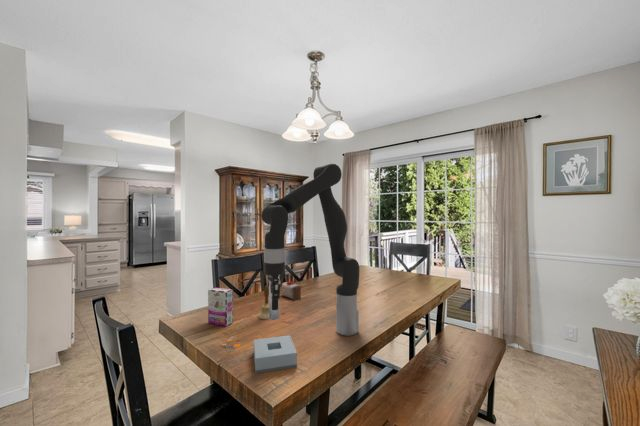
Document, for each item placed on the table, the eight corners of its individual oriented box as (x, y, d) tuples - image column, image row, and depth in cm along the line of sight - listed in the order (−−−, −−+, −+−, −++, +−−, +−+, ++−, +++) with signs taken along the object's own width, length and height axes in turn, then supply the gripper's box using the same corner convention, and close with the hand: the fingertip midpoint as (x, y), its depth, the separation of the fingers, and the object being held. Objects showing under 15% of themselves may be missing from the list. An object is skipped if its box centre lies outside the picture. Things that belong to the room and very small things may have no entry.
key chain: (244, 348, 110) (244, 346, 110) (225, 354, 106) (225, 351, 106) (233, 336, 120) (233, 334, 120) (216, 341, 116) (216, 339, 116)
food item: (279, 295, 177) (279, 280, 177) (289, 293, 183) (289, 278, 183) (292, 300, 168) (292, 284, 167) (302, 298, 173) (302, 282, 173)
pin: (278, 315, 103) (278, 283, 103) (279, 319, 100) (279, 285, 100) (268, 316, 102) (268, 283, 102) (269, 320, 99) (269, 286, 99)
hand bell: (277, 316, 143) (277, 285, 143) (264, 320, 137) (264, 288, 137) (268, 312, 149) (268, 282, 148) (254, 316, 142) (254, 285, 142)
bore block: (290, 347, 110) (290, 335, 110) (297, 367, 96) (297, 352, 96) (253, 352, 106) (253, 339, 106) (255, 373, 92) (255, 358, 92)
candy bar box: (233, 323, 134) (233, 289, 134) (226, 327, 129) (226, 291, 129) (215, 319, 138) (215, 286, 138) (207, 323, 133) (207, 289, 133)
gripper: (287, 263, 95) (287, 313, 95) (282, 257, 109) (281, 301, 109) (265, 264, 93) (265, 315, 93) (262, 257, 107) (262, 302, 107)
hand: (274, 307), depth 101 cm, fingers closed on pin, 3 cm apart
